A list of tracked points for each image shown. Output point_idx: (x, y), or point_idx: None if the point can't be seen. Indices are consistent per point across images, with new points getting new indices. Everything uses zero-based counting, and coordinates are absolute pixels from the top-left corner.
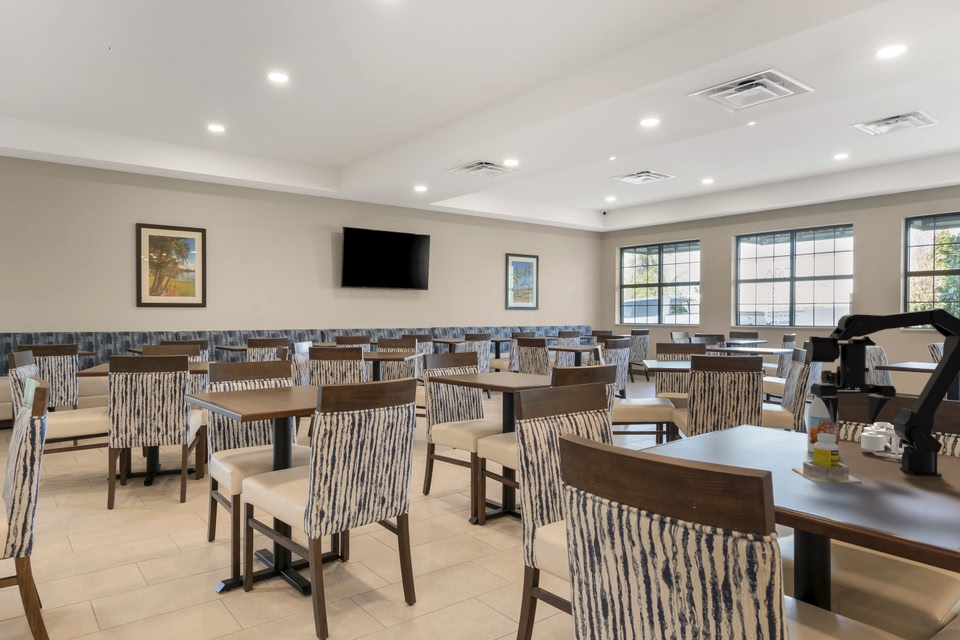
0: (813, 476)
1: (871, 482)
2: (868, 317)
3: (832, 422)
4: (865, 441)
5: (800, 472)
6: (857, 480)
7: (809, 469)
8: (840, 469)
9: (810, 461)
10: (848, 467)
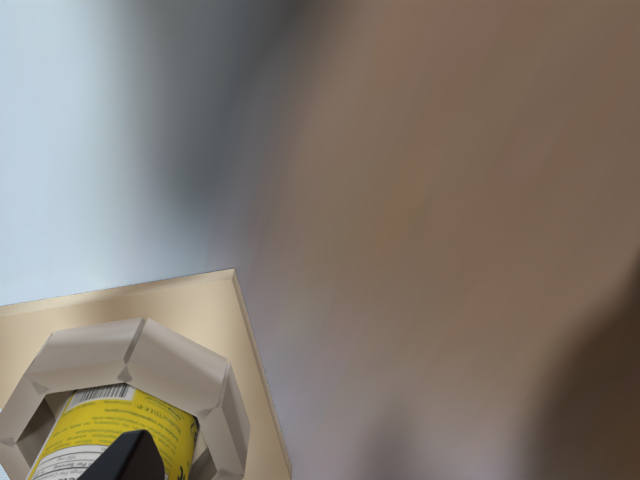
0: None
1: (359, 419)
2: None
3: (125, 441)
4: None
5: (2, 401)
6: (275, 473)
7: None
8: None
9: (31, 414)
10: (241, 478)
